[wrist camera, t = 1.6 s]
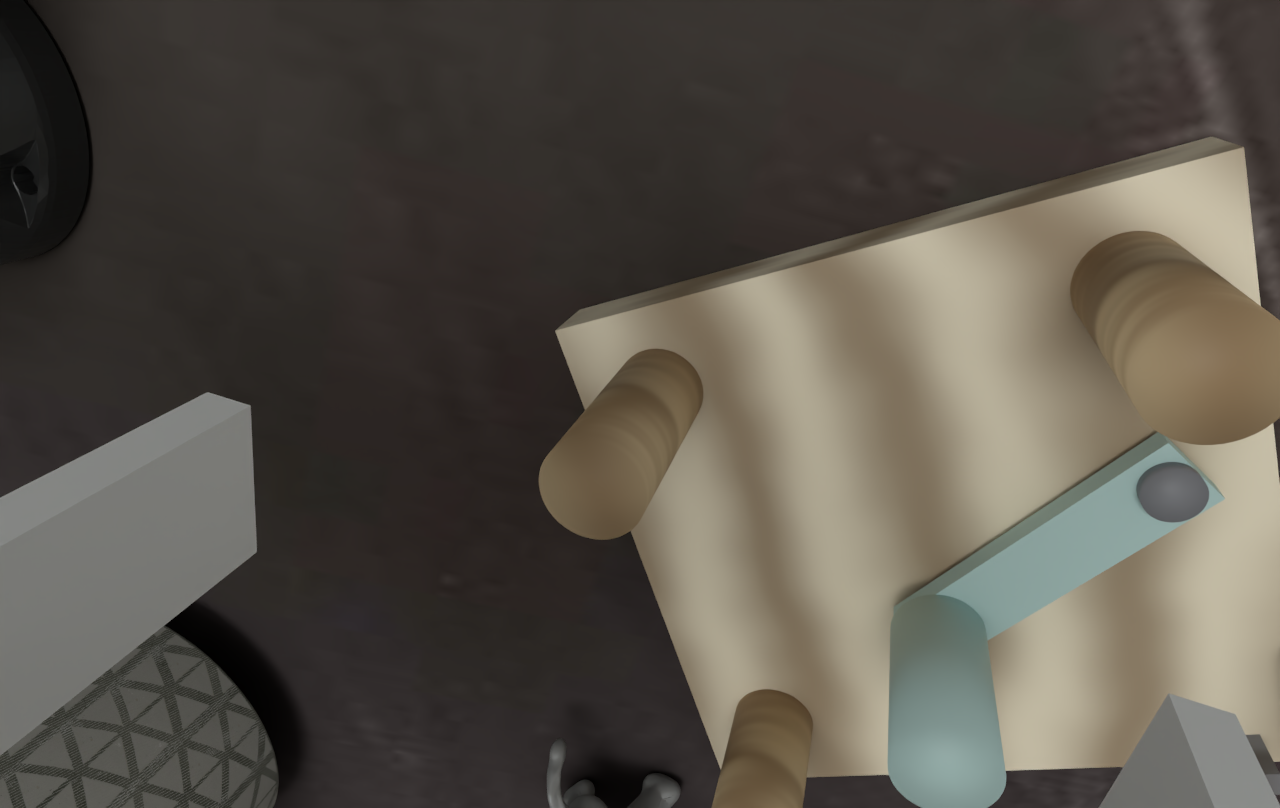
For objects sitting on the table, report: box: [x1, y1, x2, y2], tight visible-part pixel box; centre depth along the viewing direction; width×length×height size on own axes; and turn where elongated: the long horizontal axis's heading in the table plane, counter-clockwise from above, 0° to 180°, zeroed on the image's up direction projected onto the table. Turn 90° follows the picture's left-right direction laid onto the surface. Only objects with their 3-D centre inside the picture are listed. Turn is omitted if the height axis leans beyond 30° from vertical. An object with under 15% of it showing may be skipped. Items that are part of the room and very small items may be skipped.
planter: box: [0, 625, 279, 808], centre depth 48 cm, size 19×19×18 cm
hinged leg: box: [888, 432, 1225, 808], centre depth 28 cm, size 13×4×8 cm, turn 139°
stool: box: [539, 137, 1280, 808], centre depth 31 cm, size 25×24×12 cm
